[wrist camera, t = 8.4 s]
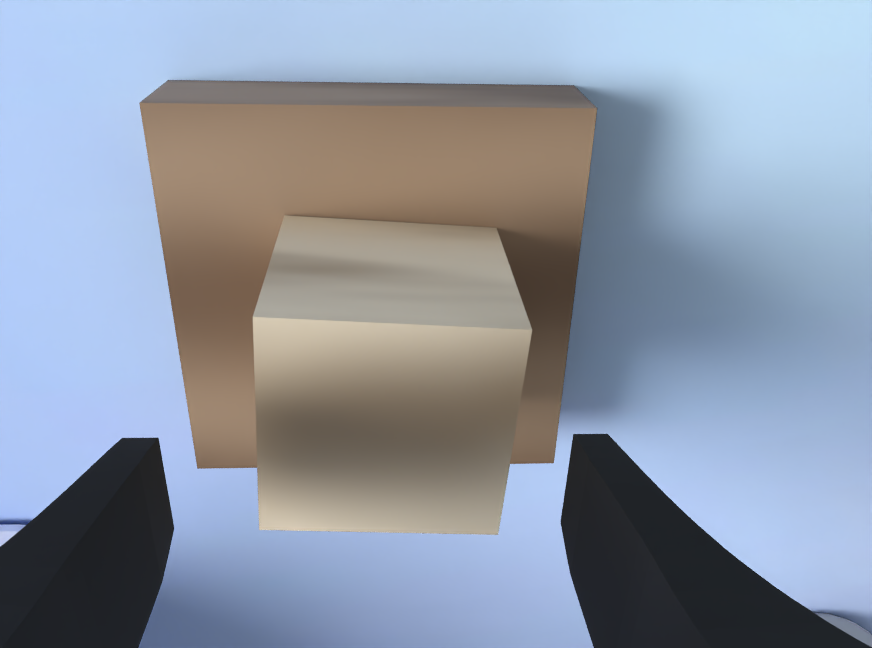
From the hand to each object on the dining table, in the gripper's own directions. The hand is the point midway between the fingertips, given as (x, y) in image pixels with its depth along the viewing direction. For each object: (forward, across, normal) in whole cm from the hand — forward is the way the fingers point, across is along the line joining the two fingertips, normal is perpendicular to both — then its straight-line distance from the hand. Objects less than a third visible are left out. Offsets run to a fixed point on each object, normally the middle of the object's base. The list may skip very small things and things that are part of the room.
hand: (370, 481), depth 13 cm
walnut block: (+10, 0, 0) cm, 10 cm away
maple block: (+6, 0, 0) cm, 7 cm away
